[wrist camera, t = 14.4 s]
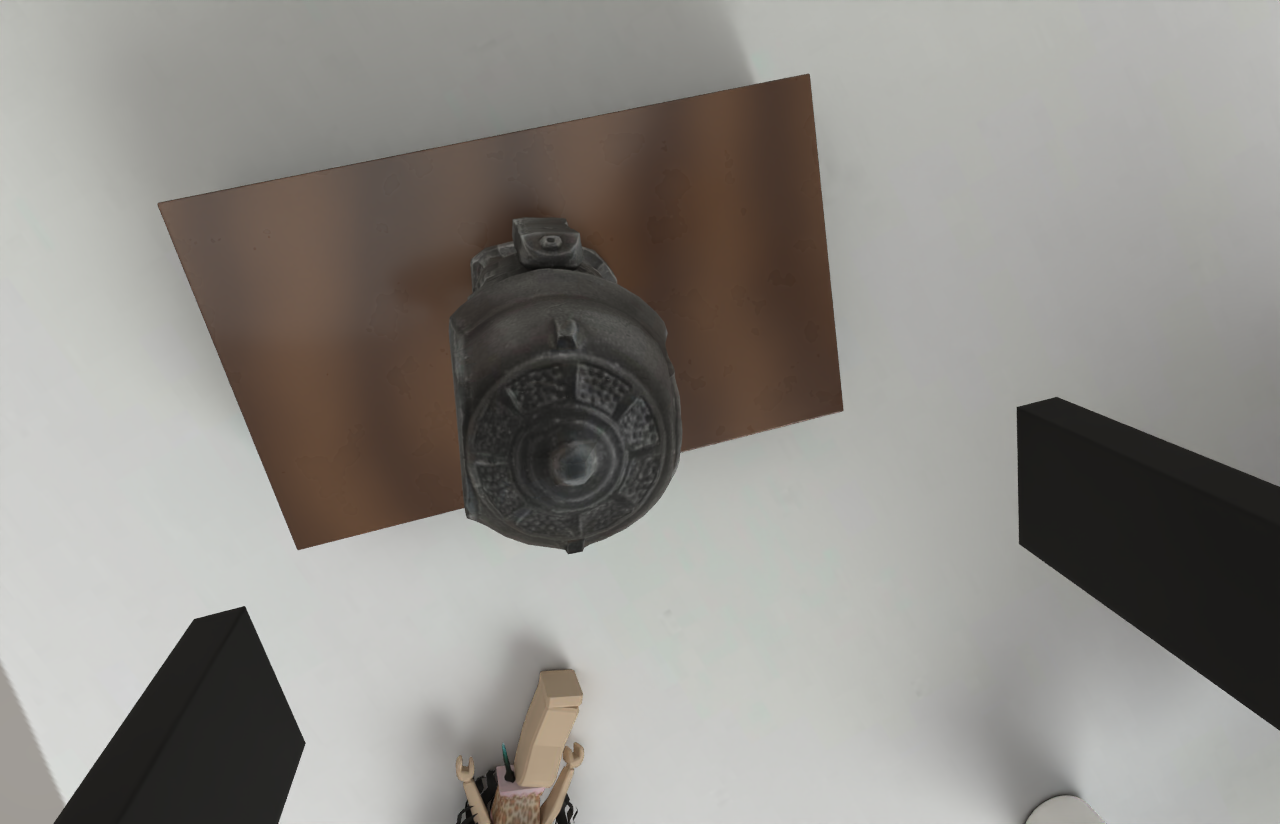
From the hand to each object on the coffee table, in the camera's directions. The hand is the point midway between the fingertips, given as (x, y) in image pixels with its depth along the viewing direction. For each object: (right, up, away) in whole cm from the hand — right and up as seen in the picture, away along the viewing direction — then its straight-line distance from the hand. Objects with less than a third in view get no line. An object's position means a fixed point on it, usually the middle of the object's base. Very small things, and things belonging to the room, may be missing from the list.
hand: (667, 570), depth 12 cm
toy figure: (-8, -19, +31) cm, 37 cm away
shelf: (-5, +8, +22) cm, 24 cm away
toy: (-4, +6, +17) cm, 19 cm away
